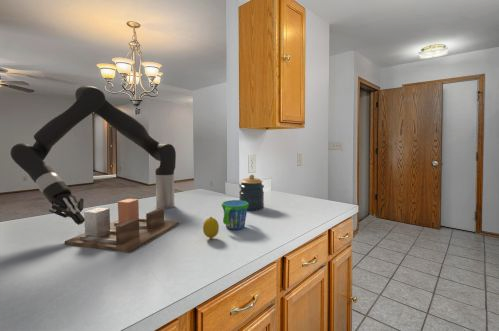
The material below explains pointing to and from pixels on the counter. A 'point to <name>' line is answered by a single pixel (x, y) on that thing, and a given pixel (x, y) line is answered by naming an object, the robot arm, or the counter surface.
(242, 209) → the snack cup
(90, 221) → the steel slider
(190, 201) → the counter surface
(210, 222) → the lemon
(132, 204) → the terracotta slider
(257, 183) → the canister
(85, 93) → the robot arm
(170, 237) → the counter surface
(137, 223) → the board
